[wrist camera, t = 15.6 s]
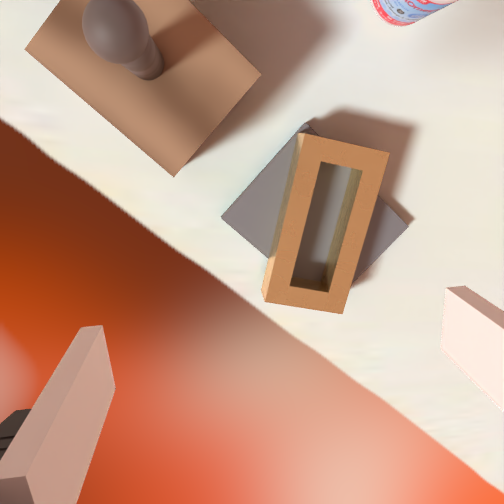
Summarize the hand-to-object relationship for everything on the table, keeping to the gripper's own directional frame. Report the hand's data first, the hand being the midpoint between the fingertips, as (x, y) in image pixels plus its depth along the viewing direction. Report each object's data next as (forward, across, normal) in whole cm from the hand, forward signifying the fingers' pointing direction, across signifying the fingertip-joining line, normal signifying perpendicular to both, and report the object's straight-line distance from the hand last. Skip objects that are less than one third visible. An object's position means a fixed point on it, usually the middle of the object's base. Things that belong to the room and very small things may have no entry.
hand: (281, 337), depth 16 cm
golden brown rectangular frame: (+25, +8, -3) cm, 27 cm away
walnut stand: (+27, -6, +12) cm, 30 cm away
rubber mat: (+26, +8, -3) cm, 28 cm away
